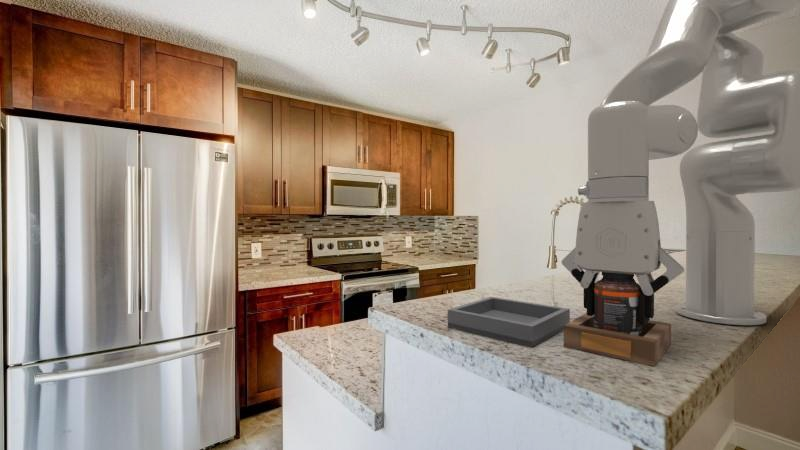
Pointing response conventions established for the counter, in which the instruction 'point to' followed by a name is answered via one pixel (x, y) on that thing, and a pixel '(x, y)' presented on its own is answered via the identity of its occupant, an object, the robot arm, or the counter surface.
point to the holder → (619, 340)
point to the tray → (509, 320)
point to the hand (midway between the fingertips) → (617, 316)
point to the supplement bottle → (617, 303)
